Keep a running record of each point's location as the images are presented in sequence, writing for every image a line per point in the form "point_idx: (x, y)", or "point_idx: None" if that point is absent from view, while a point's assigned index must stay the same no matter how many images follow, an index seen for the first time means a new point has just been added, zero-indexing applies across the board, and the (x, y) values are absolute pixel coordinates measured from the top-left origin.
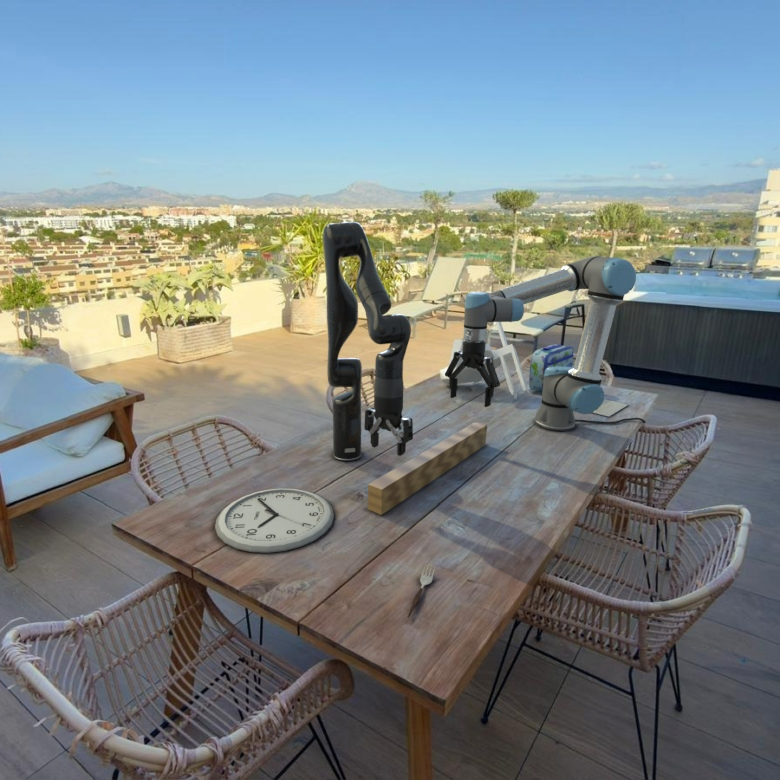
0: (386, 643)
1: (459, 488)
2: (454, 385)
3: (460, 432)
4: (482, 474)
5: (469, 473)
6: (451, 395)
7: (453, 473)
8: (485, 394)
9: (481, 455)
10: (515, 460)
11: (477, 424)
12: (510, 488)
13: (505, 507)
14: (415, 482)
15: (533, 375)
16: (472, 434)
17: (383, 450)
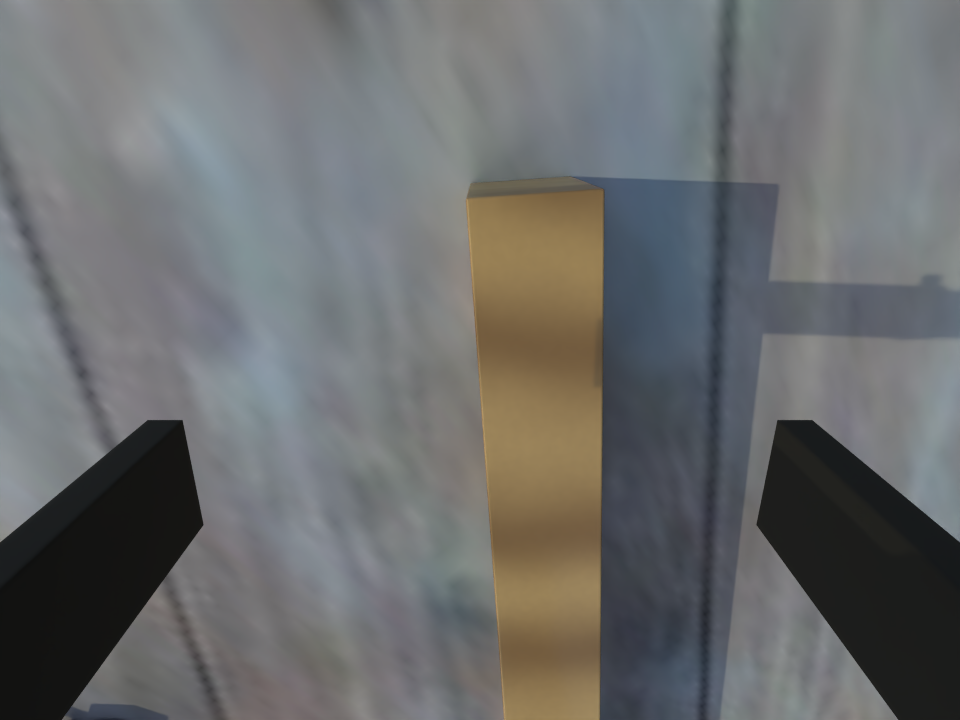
0: None
1: (709, 702)
2: (65, 646)
3: (511, 501)
4: (743, 547)
5: (681, 576)
6: (170, 551)
7: (615, 620)
8: (879, 688)
9: (631, 353)
10: (853, 271)
11: (523, 248)
12: None
13: None
14: None
15: None
16: (601, 461)
17: (178, 640)
